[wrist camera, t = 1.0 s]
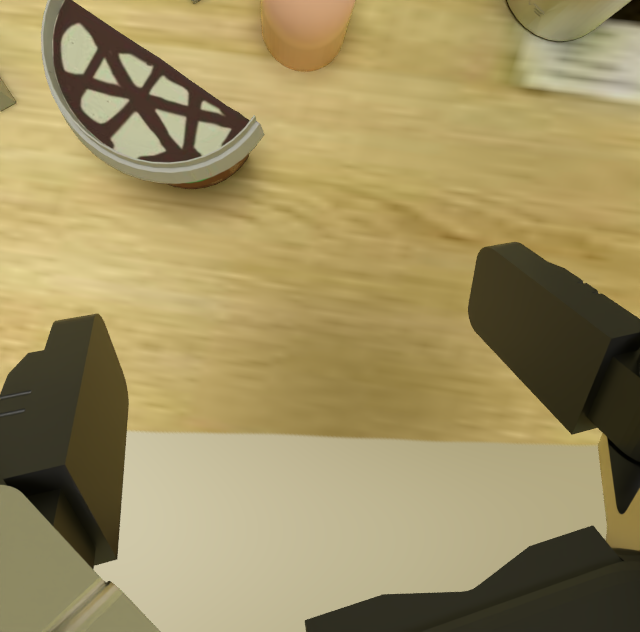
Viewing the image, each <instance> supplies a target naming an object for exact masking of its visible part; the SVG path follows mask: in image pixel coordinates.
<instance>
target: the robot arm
mask: <svg viewBox="0 0 640 632" xmlns="http://www.w3.org/2000/svg"><path fill="white" fill-rule="evenodd" d="M630 1H632V0H507V2H508V4H509V7H510V9H511V10H512V12H513V13H514V15H515V17H516V18H517V19H518V20H519V21H520V22H521V24H522V25H523V26H524V27H525V28H527V29H528V30H529V31H531V32H532V33H534V34H535V35H537V36H540V37H542V38H545V39H548V40H554V41H569V40H574V39H577V38H580V37H583V36H584V35H586V34H588V33H589V32H591V31H593V30H594V29H595V28H597V27H598V26H599V25H600V24H602V23H603V22H604V21H606V20H607V19H608V18H609V17H611V16H612V15H613V14H615V13H616V12H617V11H618V10H620V9H621V8H622V7H624V6H625V5H626V4H627V3H629V2H630ZM468 314H469V319H470V323H471V325H472V327H473V329H474V331H475V332H476V333H477V334H478V335H479V336H480V337H481V338H482V339H483V341H484V342H485V343H486V344H487V345H488V346H489V347H490V348H491V349H492V350H493V351H494V352H495V353H496V354H497V355H498V356H499V358H500V359H501V360H502V361H503V362H504V363H505V364H506V365H507V366H508V367H509V368H510V369H511V370H512V371H513V372H514V373H515V375H516V376H517V377H518V378H519V379H520V380H521V381H522V382H523V383H524V384H525V385H526V386H527V387H528V388H529V389H530V390H531V392H532V393H533V394H534V395H535V396H536V397H537V398H538V399H539V400H540V401H541V402H542V403H543V404H544V405H545V406H546V407H547V409H548V410H549V411H550V412H551V413H552V414H553V415H554V416H555V417H556V418H557V419H558V420H559V421H560V422H561V423H562V424H563V426H564V427H565V428H566V429H567V430H568V431H569V432H570V433H571V434H576V433H580V432H583V431H587V430H590V429H594V428H597V427H598V428H599V429H600V430H601V431H602V432H603V434H602V436H601V438H600V440H599V443H598V451H599V460H600V469H601V477H602V486H603V495H604V503H605V512H606V521H607V535H606V541H605V539H604V538H603V537H602V536H601V535H600V533H599V532H598V531H597V530H596V529H595V527H594V526H590V527H587V528H584V529H581V530H577V531H575V532H571V533H569V534H566V535H562V536H560V537H556V538H553V539H550V540H547V541H544V542H541V543H538V544H535V545H532V546H529V547H528V548H527V549H525V550H524V551H523V552H521V553H520V554H519V555H517V556H516V557H515V558H514V559H512V560H511V561H510V562H508V563H507V564H506V565H504V566H503V567H502V568H501V569H499V570H498V571H497V572H496V573H494V574H493V575H492V576H490V577H489V578H488V579H486V580H485V581H484V582H482V583H481V584H480V585H478V586H477V587H475V588H474V589H472V590H469V591H465V592H444V593H414V594H387V595H386V594H385V595H381V596H377V597H374V598H371V599H368V600H365V601H362V602H359V603H356V604H353V605H350V606H347V607H344V608H341V609H338V610H335V611H332V612H329V613H326V614H323V615H320V616H317V617H314V618H311V619H307V620H305V626H306V632H640V319H639V318H637V317H636V316H634V315H633V314H632V313H630V312H629V311H627V310H626V309H624V308H623V307H621V306H620V305H618V304H617V303H615V302H614V301H612V300H611V299H609V298H608V297H606V296H605V295H603V294H598V291H597V290H596V289H594V288H593V287H591V286H590V285H588V284H587V283H585V284H583V281H582V280H581V279H580V278H578V277H577V276H575V275H574V274H572V273H571V272H569V271H568V270H566V269H565V268H562V267H560V266H557V265H554V264H552V263H549V262H547V261H546V260H544V259H543V258H541V257H540V256H538V255H537V254H535V253H534V252H533V251H531V250H530V249H528V248H527V247H525V246H524V245H522V244H521V243H518V242H511V243H505V244H500V245H494V246H488V247H484V248H482V249H481V250H480V252H479V253H478V256H477V260H476V265H475V271H474V277H473V282H472V288H471V294H470V299H469V305H468ZM128 405H129V402H128V391H127V385H126V381H125V377H124V374H123V371H122V369H121V366H120V363H119V361H118V358H117V355H116V352H115V350H114V347H113V344H112V342H111V339H110V336H109V334H108V331H107V328H106V326H105V323H104V321H103V319H102V317H101V316H100V315H99V314H92V315H87V316H81V317H75V318H69V319H64V320H58V321H55V322H54V323H53V325H52V328H51V331H50V334H49V337H48V340H47V343H46V346H45V350H42V351H37V352H32V353H28V354H27V355H26V356H25V357H24V358H23V359H22V360H21V361H20V362H19V363H18V364H17V366H16V367H15V368H14V369H13V370H12V371H11V372H10V373H9V374H8V376H7V379H6V381H5V384H4V386H3V389H2V391H1V394H0V632H160V631H159V630H158V629H157V628H156V627H155V625H153V623H152V622H151V621H150V620H149V619H148V618H147V617H146V616H145V615H144V614H143V613H142V612H141V611H140V610H139V608H138V607H137V606H136V605H135V604H134V603H133V602H132V601H131V600H130V599H129V598H128V597H127V596H126V595H125V594H124V593H123V592H122V591H121V590H120V589H119V588H118V587H117V586H116V585H115V584H113V583H112V582H110V581H108V582H107V583H106V582H105V581H103V580H102V579H101V578H100V577H99V575H97V573H96V572H95V571H94V570H93V568H94V565H98V564H102V563H105V562H109V561H112V560H116V559H117V554H118V540H119V527H120V513H121V500H122V487H123V473H124V460H125V446H126V433H127V420H128Z"/></svg>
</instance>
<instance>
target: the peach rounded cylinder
mask: <svg viewBox="0 0 640 632" xmlns="http://www.w3.org/2000/svg"><path fill="white" fill-rule="evenodd" d="M355 1H356V0H261V27H262V35H263V39H264V42H265V44H266V46H267V49H268V50H269V52H270V53H271V54H272V56H273V57H274V58H275V59H276V60H277V61H278V62H280V63H281V64H282V65H284V66H286V67H288V68H290V69H293V70H296V71H303V72H306V71H314V70H318V69H320V68H322V67H325V66H326V65H328V64H329V63H330V62H331V61H332V60H333V59H334V58H335V57H336V56H337V54H338V53H339V51H340V49H341V47H342V43H343V40H344V37H345V34H346V30H347V27H348V24H349V20H350V17H351V14H352V11H353V7H354V4H355Z"/></svg>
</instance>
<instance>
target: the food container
mask: <svg viewBox="0 0 640 632" xmlns="http://www.w3.org/2000/svg"><path fill="white" fill-rule="evenodd" d="M41 42H42V59H43V64H44V70H45V75H46V79H47V82H48V85H49V87H50V90H51V93H52V96H53V98H54V99H55V101H56V103H57V105H58V107H59V109H60V111H61V113H62V115H63V116H64V118H65V120H66V122H67V123H68V125H69V126H70V128H71V129H72V130H73V132H74V133H75V134H76V136H77V137H78V139H79V140H80V141H81V142H82V143H83V144H84V145H85V146H86V147H87V148H88V149H89V150H90V151H91V152H92V153H93V154H94V155H96V156H97V157H98V158H100V159H101V160H102V161H104V162H105V163H107V164H108V165H110V166H111V167H113V168H115V169H117V170H119V171H121V172H123V173H125V174H127V175H130V176H133V177H136V178H139V179H142V180H146V181H151V182H157V183H166V184H168V185H171V186H174V187H179V188H185V189H198V188H205V187H209V186H212V185H215V184H218V183H220V182H222V181H224V180H226V179H227V178H228V177H230V176H231V175H233V174H234V173H235V172H236V171H237V170H238V169H239V168H240V167H241V166H242V165H243V163H244V162H245V161H246V159H247V158H248V156H249V152H251V151H252V150H253V149H254V148H255V147H256V145H257V144H258V143H259V141H260V140H261V139H262V137H263V136H264V135H265V134H264V132H263V130H262V127H261V125H260V123H259V122H257V121H256V118H255V116H253V117H252V118H251V120H250V121H249V120H248V119H247V118H245V117H244V116H242V115H241V114H240V113H239V112H237V111H234V110H233V109H231V108H230V107H228V106H226V105H225V104H223V103H222V102H221V101H219V100H218V99H216V98H215V97H213V96H212V95H211V94H209V93H208V92H206V91H205V90H203V89H202V88H200V87H199V86H198V85H196V84H195V83H193V82H192V81H190V80H189V79H188V78H186V77H185V76H184V75H182V74H181V73H179V72H178V71H177V70H175V69H174V68H173V67H171V66H170V65H168V64H167V63H166V62H164V61H163V60H162V59H160V58H159V57H157V56H155V55H154V54H152V53H151V52H149V51H147V50H146V49H144V48H143V47H141V46H139V45H138V44H136V43H135V42H133V41H132V40H130V39H129V38H127V37H126V36H124V35H123V34H121V33H120V32H118V31H117V30H115V29H114V28H112V27H111V26H109V25H108V24H106V23H105V22H103V21H102V20H100V19H99V18H97V17H96V16H94V15H93V14H91V13H90V12H88V11H87V10H85V9H84V8H82V7H81V6H79V5H78V4H76V3H75V2H73V0H48V2H47V5H46V8H45V11H44V15H43V23H42V30H41Z"/></svg>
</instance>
